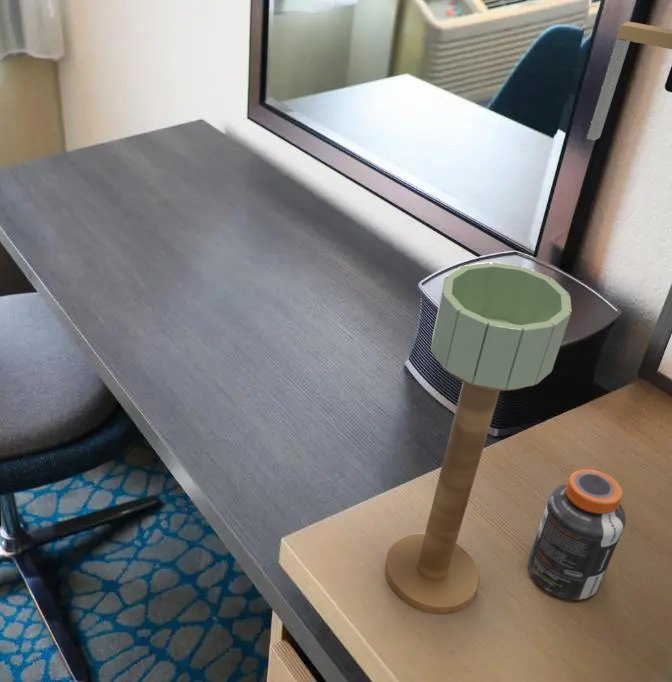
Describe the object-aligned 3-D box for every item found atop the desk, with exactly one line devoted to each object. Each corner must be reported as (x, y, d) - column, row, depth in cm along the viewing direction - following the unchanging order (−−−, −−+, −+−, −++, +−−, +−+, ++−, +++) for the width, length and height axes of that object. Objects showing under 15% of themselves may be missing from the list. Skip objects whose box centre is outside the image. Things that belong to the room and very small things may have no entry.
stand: (494, 579, 71) (573, 353, 55) (442, 632, 67) (512, 405, 51) (418, 527, 76) (471, 307, 60) (366, 574, 72) (408, 351, 56)
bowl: (573, 353, 55) (594, 294, 52) (512, 405, 51) (530, 345, 48) (471, 307, 60) (485, 250, 57) (408, 351, 56) (419, 293, 53)
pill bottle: (612, 599, 68) (653, 508, 62) (546, 605, 68) (580, 514, 62) (576, 545, 73) (611, 456, 67) (515, 551, 73) (543, 462, 66)
